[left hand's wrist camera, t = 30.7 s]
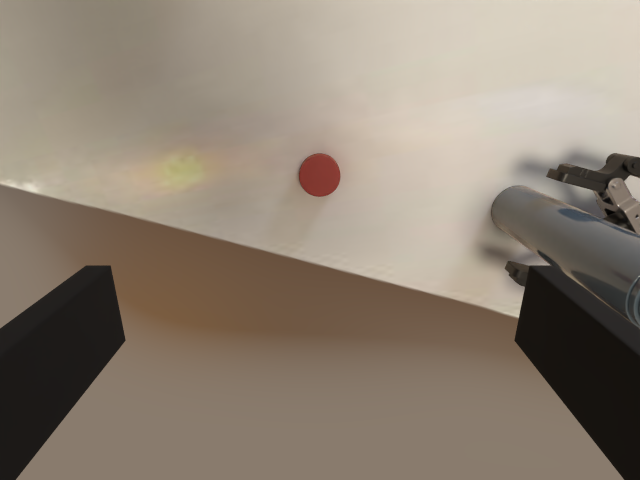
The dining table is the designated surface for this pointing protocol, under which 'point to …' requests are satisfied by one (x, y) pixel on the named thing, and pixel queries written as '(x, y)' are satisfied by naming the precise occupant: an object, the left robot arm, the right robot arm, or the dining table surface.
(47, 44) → the dining table surface
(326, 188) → the cap
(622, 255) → the bottle
